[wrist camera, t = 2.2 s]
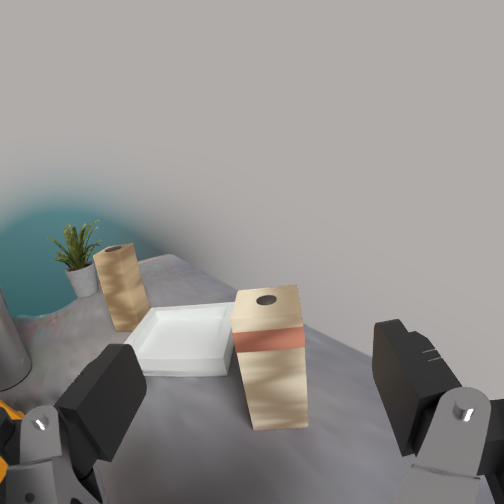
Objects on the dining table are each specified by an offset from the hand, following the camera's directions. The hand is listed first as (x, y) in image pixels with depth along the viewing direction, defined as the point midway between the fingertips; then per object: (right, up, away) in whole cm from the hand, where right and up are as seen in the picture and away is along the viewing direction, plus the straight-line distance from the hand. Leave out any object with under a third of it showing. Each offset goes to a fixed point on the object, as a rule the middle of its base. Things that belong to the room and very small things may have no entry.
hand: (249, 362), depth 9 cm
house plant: (-35, -5, +51) cm, 62 cm away
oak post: (-18, -8, +34) cm, 39 cm away
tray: (-8, -8, +27) cm, 30 cm away
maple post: (+3, -10, +15) cm, 18 cm away
